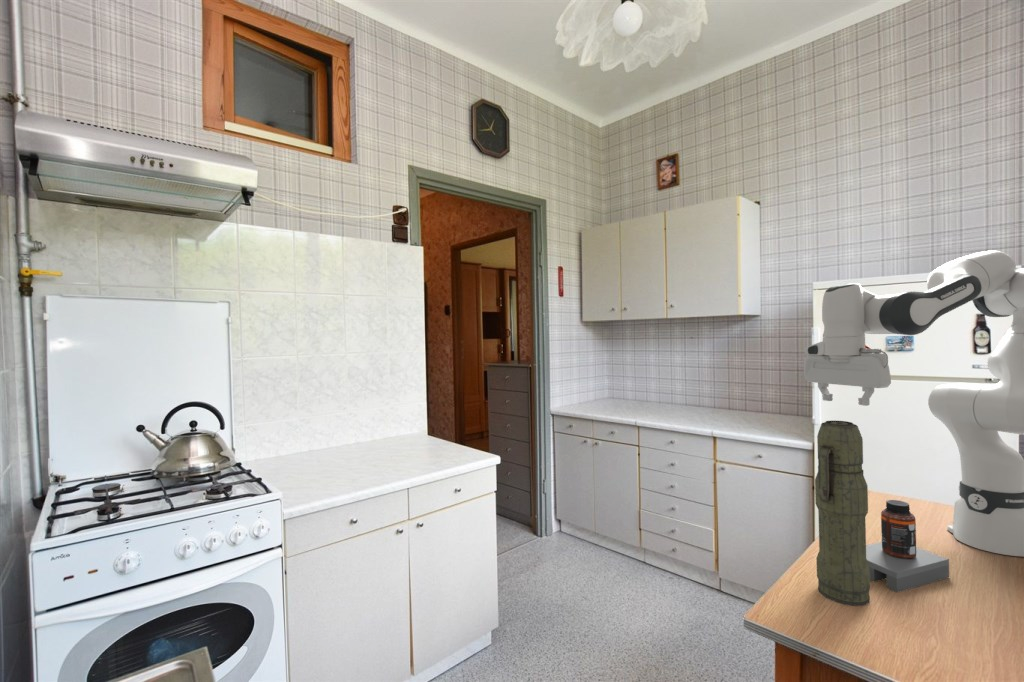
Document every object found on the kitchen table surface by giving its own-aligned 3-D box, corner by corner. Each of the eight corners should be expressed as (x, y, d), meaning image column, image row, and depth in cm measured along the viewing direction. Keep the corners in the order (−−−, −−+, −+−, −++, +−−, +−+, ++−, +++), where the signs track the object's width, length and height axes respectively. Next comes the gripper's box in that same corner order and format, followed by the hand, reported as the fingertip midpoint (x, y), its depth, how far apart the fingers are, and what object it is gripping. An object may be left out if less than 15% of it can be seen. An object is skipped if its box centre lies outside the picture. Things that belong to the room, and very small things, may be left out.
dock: (894, 555, 113) (893, 538, 113) (949, 577, 102) (948, 559, 102) (844, 568, 108) (844, 550, 108) (897, 592, 97) (896, 572, 97)
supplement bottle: (923, 560, 102) (922, 507, 102) (891, 559, 103) (890, 506, 103) (906, 548, 108) (904, 498, 108) (876, 547, 109) (874, 497, 109)
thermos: (881, 594, 97) (877, 421, 96) (854, 614, 91) (850, 429, 90) (833, 576, 104) (829, 416, 104) (805, 593, 98) (801, 423, 98)
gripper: (896, 348, 112) (898, 407, 112) (816, 347, 131) (817, 397, 131) (877, 349, 110) (879, 409, 110) (799, 348, 129) (800, 399, 129)
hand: (845, 402), depth 121 cm, fingers open, 8 cm apart
